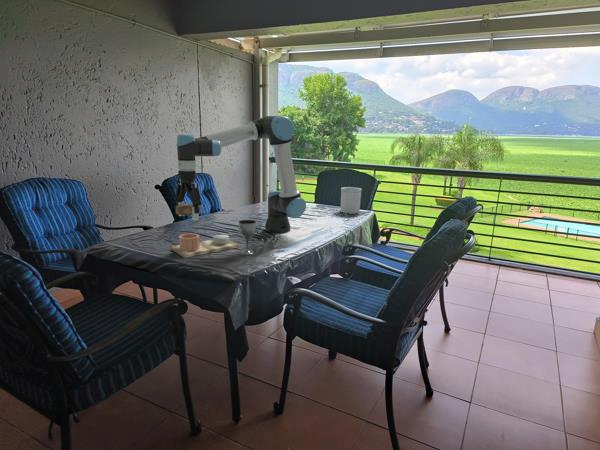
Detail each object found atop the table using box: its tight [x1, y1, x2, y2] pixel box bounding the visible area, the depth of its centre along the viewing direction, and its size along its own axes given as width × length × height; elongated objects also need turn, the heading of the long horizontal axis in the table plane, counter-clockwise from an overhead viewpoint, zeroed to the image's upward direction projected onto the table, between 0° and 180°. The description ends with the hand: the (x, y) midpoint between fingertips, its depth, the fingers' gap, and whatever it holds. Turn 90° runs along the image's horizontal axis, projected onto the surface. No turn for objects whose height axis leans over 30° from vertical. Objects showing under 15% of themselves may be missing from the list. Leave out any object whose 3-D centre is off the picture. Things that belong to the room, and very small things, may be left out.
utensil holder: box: [340, 186, 363, 215], centre depth 276 cm, size 15×15×18 cm
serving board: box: [171, 238, 240, 259], centre depth 184 cm, size 28×15×2 cm, turn 130°
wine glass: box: [238, 219, 257, 256], centre depth 178 cm, size 8×8×15 cm
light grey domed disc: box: [212, 234, 230, 245], centre depth 188 cm, size 8×8×3 cm
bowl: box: [178, 233, 200, 251], centre depth 178 cm, size 9×9×6 cm
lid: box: [175, 203, 202, 216], centre depth 174 cm, size 11×11×3 cm
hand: (188, 217), depth 175 cm, fingers closed on lid, 11 cm apart
